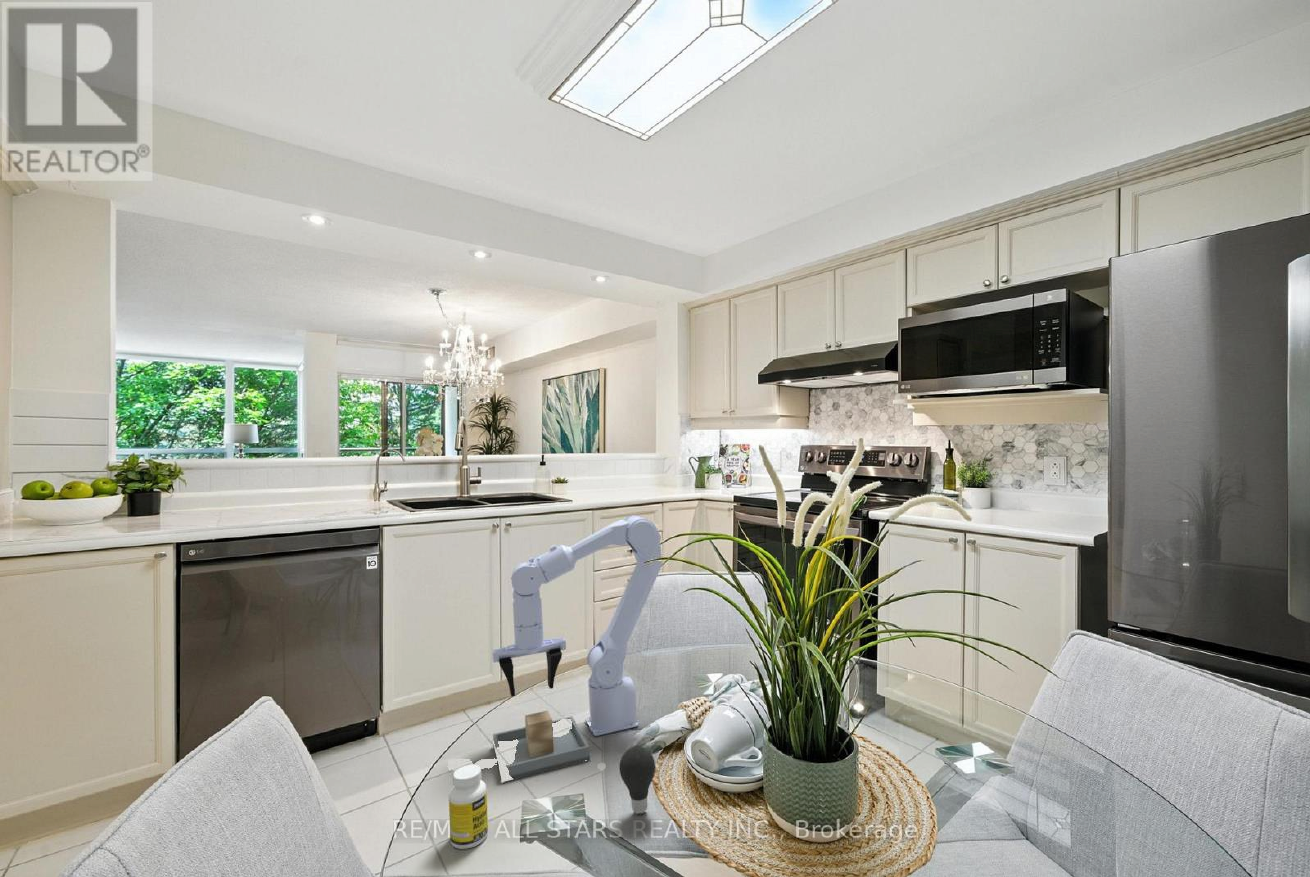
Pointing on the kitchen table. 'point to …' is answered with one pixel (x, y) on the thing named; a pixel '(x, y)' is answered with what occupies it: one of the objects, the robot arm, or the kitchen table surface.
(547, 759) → the tray
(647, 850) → the kitchen table surface
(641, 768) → the light bulb
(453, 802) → the supplement bottle
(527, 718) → the oak block
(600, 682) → the robot arm
